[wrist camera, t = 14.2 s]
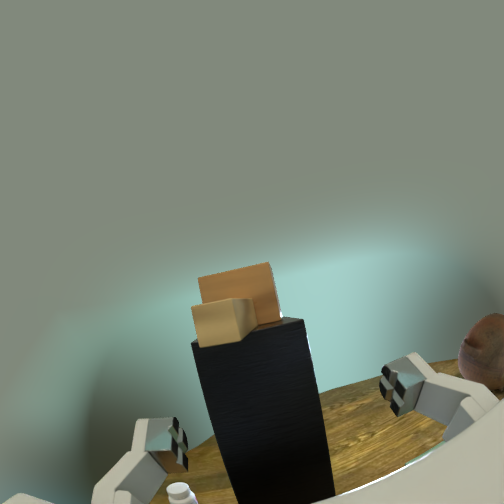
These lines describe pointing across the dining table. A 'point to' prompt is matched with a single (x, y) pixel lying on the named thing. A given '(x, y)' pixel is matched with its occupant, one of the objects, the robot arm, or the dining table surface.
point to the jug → (484, 352)
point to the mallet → (235, 304)
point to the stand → (268, 415)
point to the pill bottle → (180, 494)
